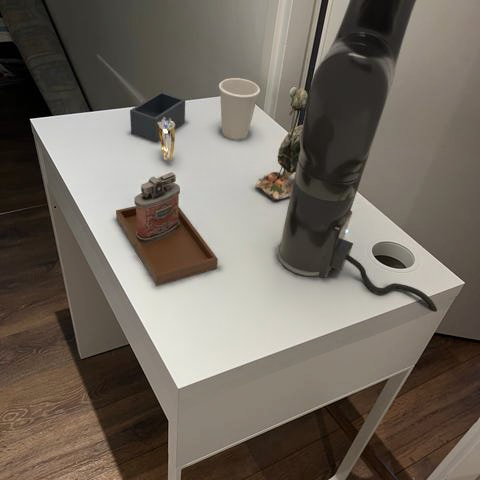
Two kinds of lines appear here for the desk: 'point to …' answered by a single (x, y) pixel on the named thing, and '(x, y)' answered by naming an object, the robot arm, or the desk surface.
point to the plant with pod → (286, 155)
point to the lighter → (157, 208)
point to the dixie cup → (237, 106)
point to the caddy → (156, 115)
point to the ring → (167, 137)
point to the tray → (169, 249)
